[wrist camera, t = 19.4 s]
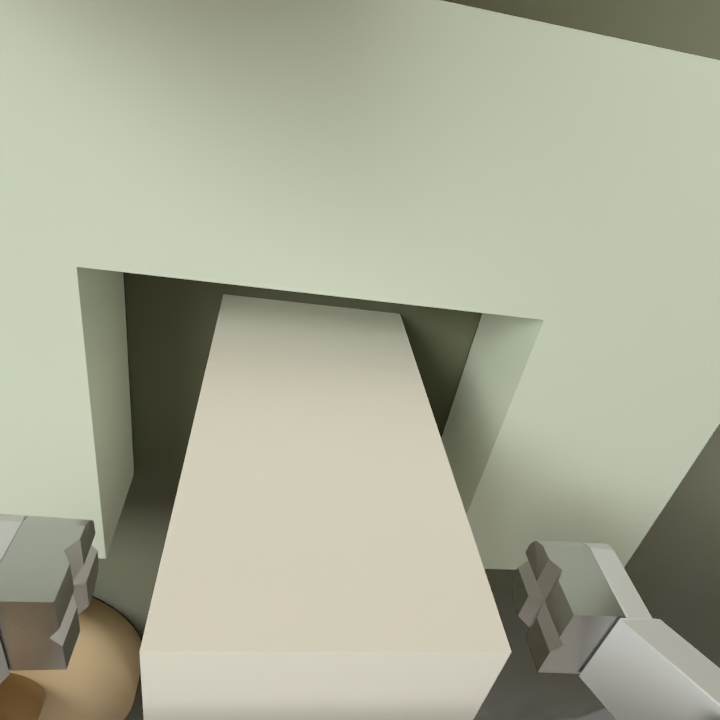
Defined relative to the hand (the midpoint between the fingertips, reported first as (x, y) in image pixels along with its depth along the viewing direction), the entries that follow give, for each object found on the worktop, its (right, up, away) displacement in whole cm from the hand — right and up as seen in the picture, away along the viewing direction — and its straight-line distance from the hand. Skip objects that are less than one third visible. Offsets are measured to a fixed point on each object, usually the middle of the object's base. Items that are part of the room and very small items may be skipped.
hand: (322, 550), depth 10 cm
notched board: (-1, +5, +4) cm, 6 cm away
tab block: (-1, +3, +5) cm, 6 cm away
